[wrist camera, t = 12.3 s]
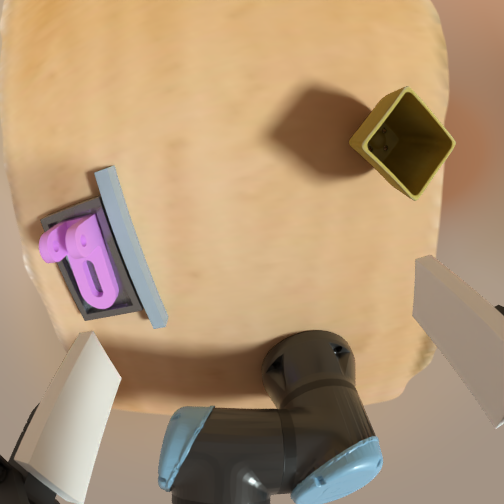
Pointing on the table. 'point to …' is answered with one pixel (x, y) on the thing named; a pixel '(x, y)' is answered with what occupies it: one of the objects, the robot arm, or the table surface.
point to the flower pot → (404, 142)
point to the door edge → (130, 245)
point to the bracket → (82, 256)
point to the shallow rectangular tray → (127, 291)
